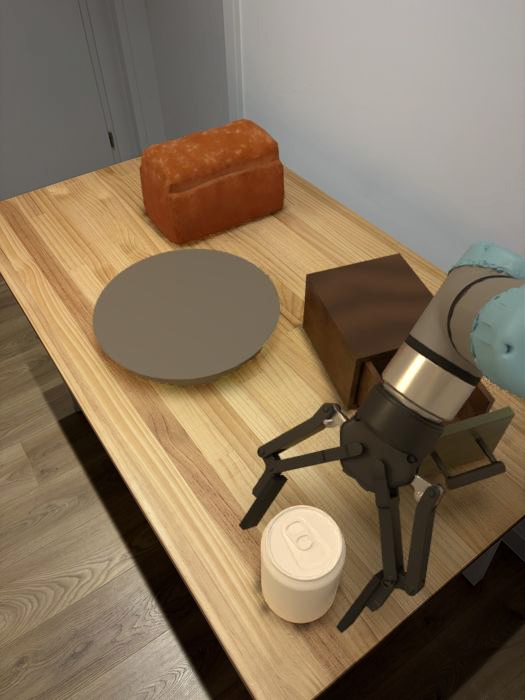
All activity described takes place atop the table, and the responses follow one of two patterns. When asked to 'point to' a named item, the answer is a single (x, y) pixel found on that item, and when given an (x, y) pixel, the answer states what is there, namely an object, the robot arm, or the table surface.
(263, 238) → the table surface
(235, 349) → the flat disc
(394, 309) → the cabinet
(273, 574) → the beverage can
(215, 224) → the bread
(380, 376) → the drawer
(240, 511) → the table surface
